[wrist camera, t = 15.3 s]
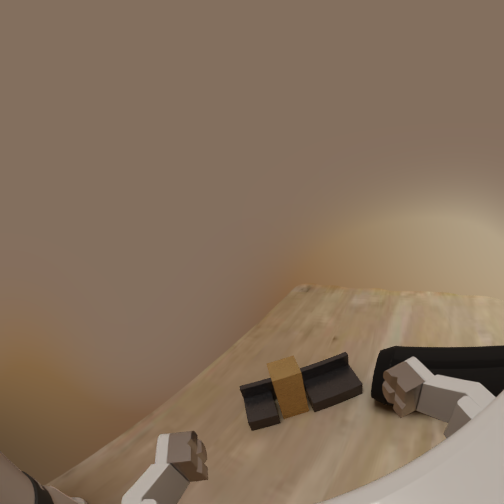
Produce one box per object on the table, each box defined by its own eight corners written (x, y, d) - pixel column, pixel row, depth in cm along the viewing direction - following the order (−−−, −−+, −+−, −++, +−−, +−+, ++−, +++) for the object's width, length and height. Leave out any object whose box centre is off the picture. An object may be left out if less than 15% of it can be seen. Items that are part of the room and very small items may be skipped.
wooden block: (283, 419, 40) (272, 381, 37) (278, 401, 44) (266, 363, 42) (308, 410, 40) (301, 372, 38) (301, 394, 45) (293, 355, 42)
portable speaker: (503, 374, 28) (519, 331, 25) (506, 417, 21) (529, 374, 18) (382, 374, 43) (383, 333, 40) (368, 414, 36) (370, 375, 33)
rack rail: (362, 393, 40) (362, 374, 39) (252, 430, 39) (244, 414, 38) (346, 370, 47) (345, 351, 46) (246, 403, 46) (239, 386, 44)
